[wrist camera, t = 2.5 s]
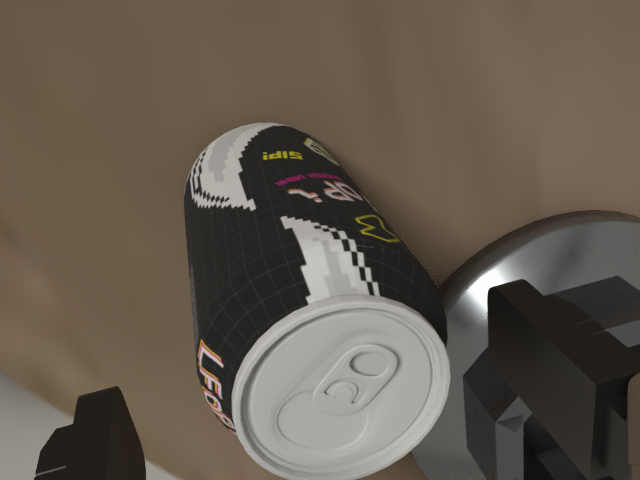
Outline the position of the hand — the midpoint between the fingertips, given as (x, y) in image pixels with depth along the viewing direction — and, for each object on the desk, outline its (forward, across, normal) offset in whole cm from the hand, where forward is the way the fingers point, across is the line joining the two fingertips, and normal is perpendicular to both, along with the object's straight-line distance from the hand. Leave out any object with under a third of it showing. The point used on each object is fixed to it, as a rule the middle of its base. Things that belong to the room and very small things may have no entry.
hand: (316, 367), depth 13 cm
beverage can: (+11, 0, 0) cm, 11 cm away
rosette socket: (+11, -13, +12) cm, 20 cm away
